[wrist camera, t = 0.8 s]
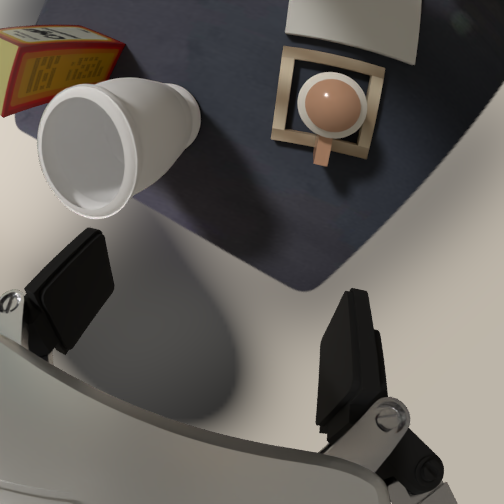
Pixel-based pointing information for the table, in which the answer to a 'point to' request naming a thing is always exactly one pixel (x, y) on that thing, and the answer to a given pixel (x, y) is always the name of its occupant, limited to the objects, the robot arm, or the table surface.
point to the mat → (360, 24)
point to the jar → (113, 141)
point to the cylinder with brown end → (331, 110)
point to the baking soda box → (51, 62)
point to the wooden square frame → (336, 61)
